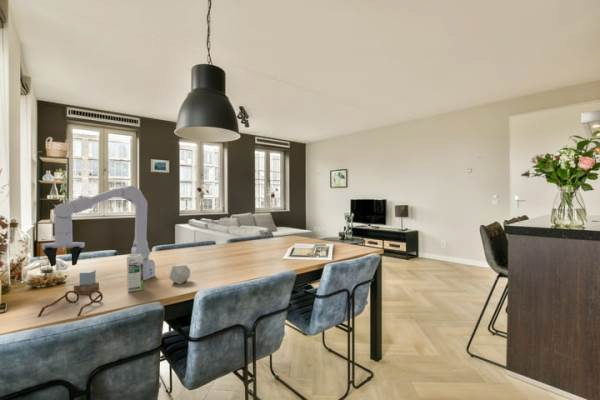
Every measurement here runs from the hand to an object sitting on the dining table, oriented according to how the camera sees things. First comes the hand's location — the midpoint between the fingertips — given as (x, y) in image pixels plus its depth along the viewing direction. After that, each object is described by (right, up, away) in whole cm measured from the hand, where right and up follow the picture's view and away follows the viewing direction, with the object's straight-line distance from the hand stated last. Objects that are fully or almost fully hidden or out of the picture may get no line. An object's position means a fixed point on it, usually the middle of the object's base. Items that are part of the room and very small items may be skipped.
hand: (63, 265), depth 120 cm
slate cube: (+10, -8, 0) cm, 12 cm away
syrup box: (+29, -11, +2) cm, 31 cm away
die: (+43, -11, +11) cm, 46 cm away
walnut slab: (+9, -11, 0) cm, 14 cm away
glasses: (+19, -11, -20) cm, 29 cm away
